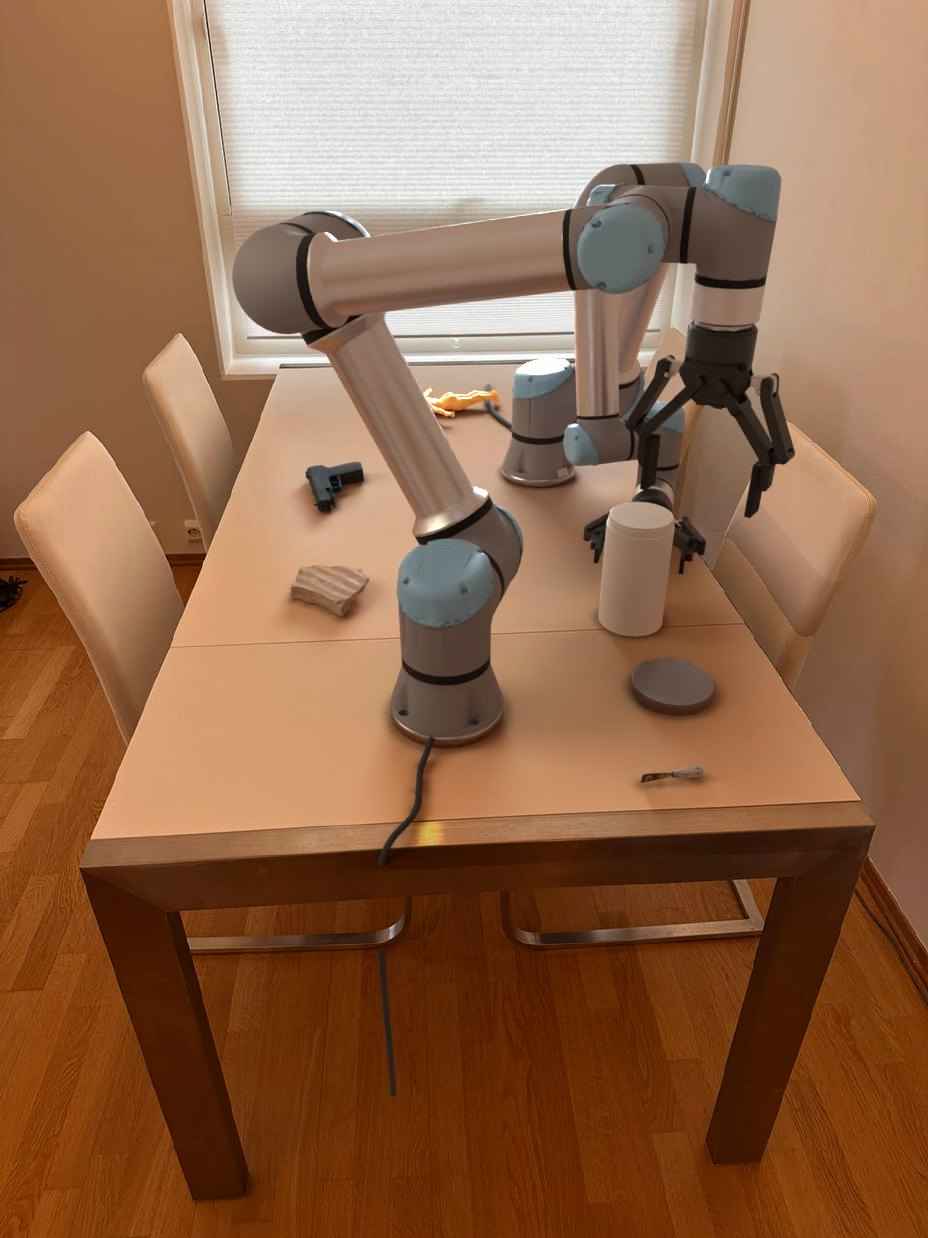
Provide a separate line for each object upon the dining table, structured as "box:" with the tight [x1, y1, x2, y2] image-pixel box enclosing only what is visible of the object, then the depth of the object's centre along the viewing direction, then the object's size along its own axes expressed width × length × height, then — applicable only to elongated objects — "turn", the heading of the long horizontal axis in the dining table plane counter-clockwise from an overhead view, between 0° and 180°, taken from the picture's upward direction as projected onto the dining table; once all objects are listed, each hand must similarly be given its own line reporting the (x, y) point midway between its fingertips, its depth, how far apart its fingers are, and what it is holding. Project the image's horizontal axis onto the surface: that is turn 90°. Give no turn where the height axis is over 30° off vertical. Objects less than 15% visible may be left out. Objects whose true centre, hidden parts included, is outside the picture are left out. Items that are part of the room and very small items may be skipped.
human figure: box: [423, 385, 500, 418], centre depth 225 cm, size 20×20×4 cm
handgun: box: [304, 461, 365, 513], centre depth 182 cm, size 3×18×12 cm
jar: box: [597, 501, 676, 638], centre depth 136 cm, size 10×10×18 cm
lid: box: [630, 657, 715, 716], centre depth 124 cm, size 11×11×2 cm
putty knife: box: [640, 765, 705, 784], centre depth 109 cm, size 1×8×2 cm, turn 103°
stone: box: [289, 564, 370, 617], centre depth 147 cm, size 13×12×2 cm
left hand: (697, 499), depth 110 cm, fingers open, 13 cm apart
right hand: (638, 561), depth 143 cm, fingers open, 13 cm apart
